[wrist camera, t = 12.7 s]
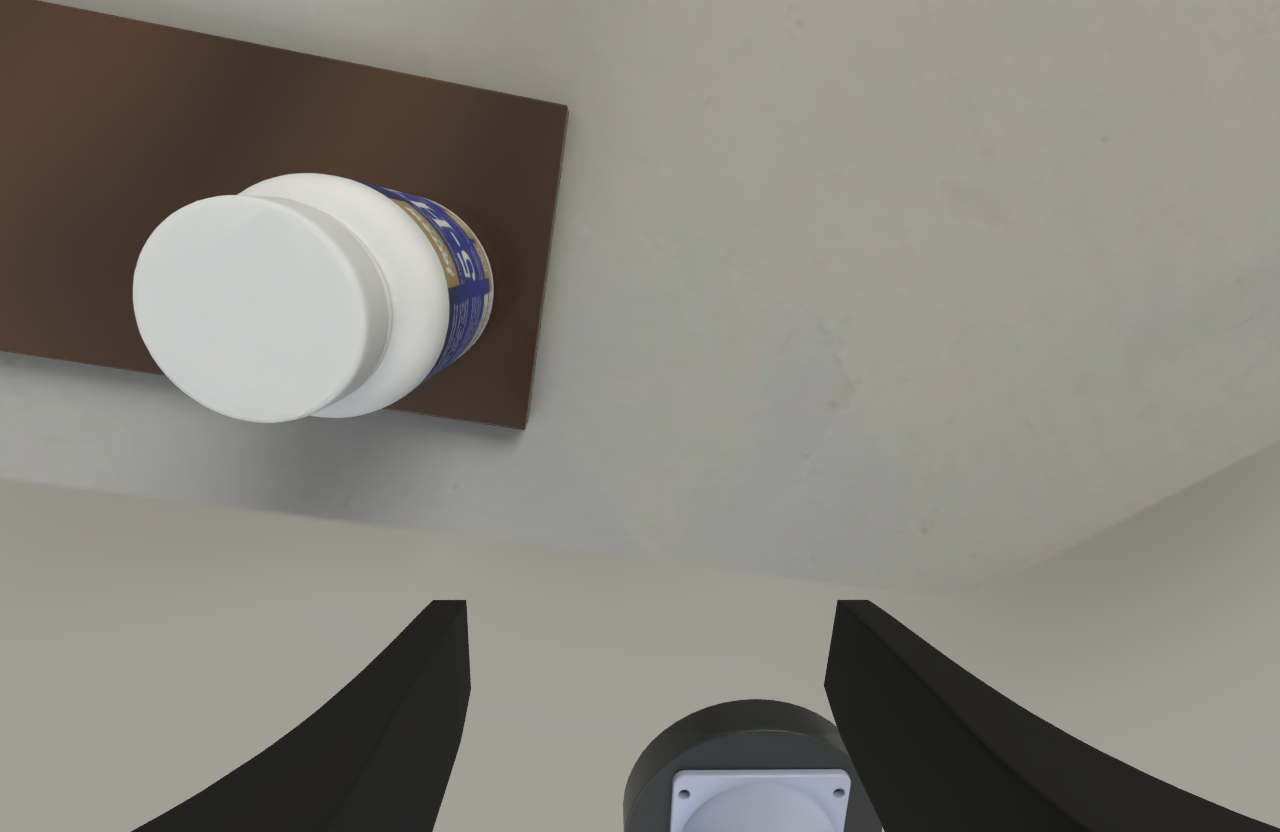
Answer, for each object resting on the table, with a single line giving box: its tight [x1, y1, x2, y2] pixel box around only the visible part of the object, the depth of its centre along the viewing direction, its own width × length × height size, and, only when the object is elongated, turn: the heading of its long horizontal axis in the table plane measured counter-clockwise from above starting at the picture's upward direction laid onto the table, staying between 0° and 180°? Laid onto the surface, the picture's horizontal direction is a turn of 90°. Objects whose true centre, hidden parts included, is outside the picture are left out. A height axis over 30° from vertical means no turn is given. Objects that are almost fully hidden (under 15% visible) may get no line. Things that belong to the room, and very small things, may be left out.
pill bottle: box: [133, 173, 494, 423], centre depth 15 cm, size 5×5×9 cm
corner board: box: [0, 0, 569, 430], centre depth 19 cm, size 20×10×1 cm, turn 80°
